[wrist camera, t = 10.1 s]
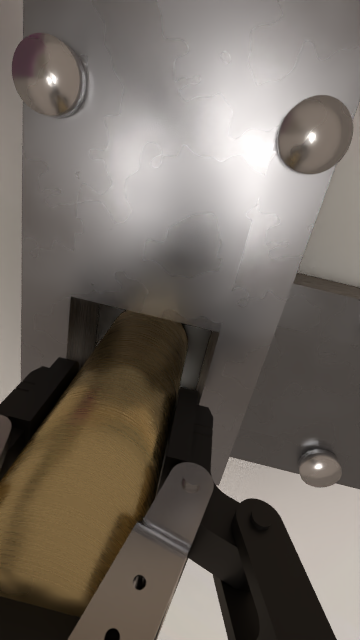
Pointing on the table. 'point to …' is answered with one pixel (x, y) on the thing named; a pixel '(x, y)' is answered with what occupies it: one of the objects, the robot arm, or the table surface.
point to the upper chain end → (178, 170)
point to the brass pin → (91, 467)
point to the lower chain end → (301, 386)
